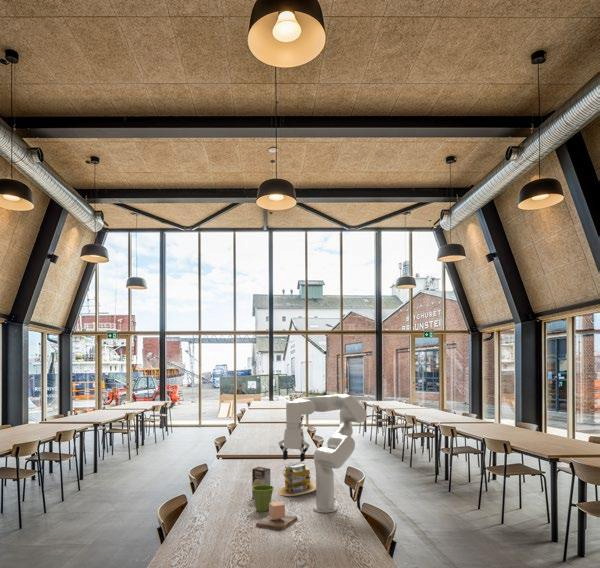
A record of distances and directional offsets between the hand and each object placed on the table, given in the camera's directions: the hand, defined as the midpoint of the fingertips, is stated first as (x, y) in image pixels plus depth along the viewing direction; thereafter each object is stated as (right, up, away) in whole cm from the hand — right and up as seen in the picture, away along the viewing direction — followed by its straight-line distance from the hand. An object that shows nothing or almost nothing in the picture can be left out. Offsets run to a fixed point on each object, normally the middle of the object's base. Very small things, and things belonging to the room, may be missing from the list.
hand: (293, 460), depth 253 cm
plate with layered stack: (+2, -35, +44) cm, 56 cm away
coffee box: (-19, -33, +33) cm, 50 cm away
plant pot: (-17, -31, +11) cm, 36 cm away
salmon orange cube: (-8, -24, -9) cm, 27 cm away
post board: (-8, -27, -9) cm, 30 cm away
